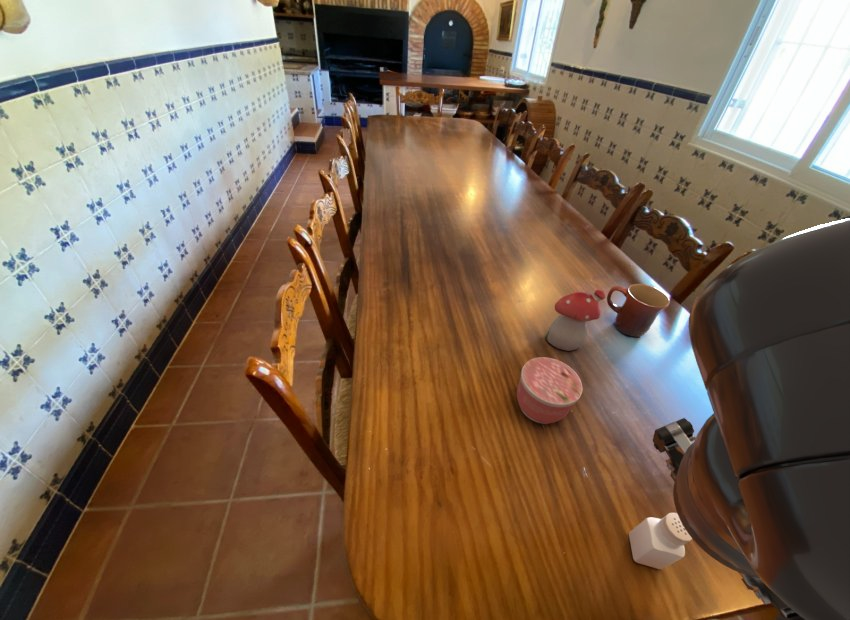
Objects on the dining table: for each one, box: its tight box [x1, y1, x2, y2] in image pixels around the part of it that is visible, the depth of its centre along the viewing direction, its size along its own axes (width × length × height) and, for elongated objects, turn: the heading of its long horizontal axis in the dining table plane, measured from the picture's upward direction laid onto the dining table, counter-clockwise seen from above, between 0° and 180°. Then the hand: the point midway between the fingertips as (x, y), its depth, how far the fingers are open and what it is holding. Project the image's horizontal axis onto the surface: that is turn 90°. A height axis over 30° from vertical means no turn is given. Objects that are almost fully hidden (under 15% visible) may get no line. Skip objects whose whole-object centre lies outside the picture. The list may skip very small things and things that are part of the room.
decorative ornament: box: [545, 289, 607, 352], centre depth 76 cm, size 9×7×15 cm
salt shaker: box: [628, 512, 693, 571], centre depth 47 cm, size 4×4×10 cm
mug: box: [606, 283, 671, 338], centre depth 84 cm, size 12×9×10 cm
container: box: [516, 356, 583, 425], centre depth 65 cm, size 10×10×8 cm
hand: (716, 522), depth 33 cm, fingers open, 8 cm apart
